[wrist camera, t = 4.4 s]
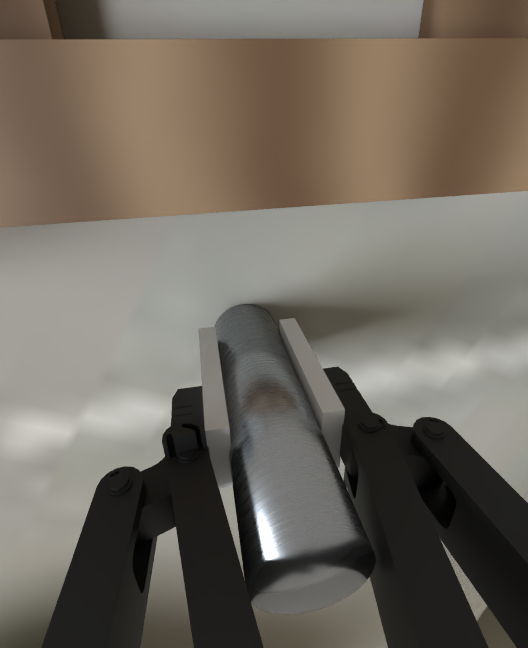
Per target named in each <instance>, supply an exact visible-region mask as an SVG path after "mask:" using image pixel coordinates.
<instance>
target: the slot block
mask: <svg viewBox="0 0 528 648" xmlns="http://www.w3.org/2000/svg"><path fill="white" fill-rule="evenodd" d="M527 35H528V0H424V3H423V10H422V18H421V25H420V32H419V38H416V39H64V37H63V33H62V29H61V24H60V20H59V16H58V11H57V7H56V3H55V0H0V227H12V226H27V225H41V224H56V223H70V222H84V221H99V220H113V219H127V218H142V217H156V216H171V215H185V214H199V213H214V212H228V211H243V210H257V209H271V208H286V207H300V206H315V205H329V204H343V203H358V202H372V201H387V200H401V199H415V198H430V197H444V196H459V195H473V194H487V193H502V192H516V191H528V38H527Z"/></svg>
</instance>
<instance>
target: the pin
mask: <svg viewBox="0 0 528 648" xmlns="http://www.w3.org/2000/svg"><path fill="white" fill-rule="evenodd" d="M215 329H216V337H217V344H218V351H219V358H220V365H221V372H222V379H223V386H224V393H225V400H226V407H227V414H228V421H229V429H230V438H231V448H230V453H229V460H230V467H231V475H232V483H233V491H234V499H235V507H236V514H237V522H238V530H239V538H240V546H241V554H242V561H243V569H244V577H245V584H246V587H247V591H248V594H249V598H250V602H251V603H252V604H253V605H254V606H256V607H257V608H259V609H261V610H263V611H266V612H270V613H275V614H298V613H305V612H310V611H314V610H317V609H321V608H324V607H327V606H329V605H331V604H334V603H336V602H338V601H340V600H342V599H344V598H345V597H347V596H349V595H350V594H352V593H353V592H355V591H356V590H357V589H358V588H360V587H361V586H362V585H363V584H364V583H365V582H366V580H367V579H368V578H369V577H370V575H371V574H372V572H373V570H374V567H375V563H376V556H375V553H374V550H373V548H372V546H371V543H370V541H369V539H368V537H367V534H366V532H365V530H364V527H363V525H362V523H361V520H360V518H359V516H358V514H357V511H356V509H355V507H354V504H353V502H352V500H351V498H350V495H349V493H348V491H347V488H346V486H345V484H344V482H343V479H342V477H341V475H340V472H339V470H338V468H337V465H336V463H335V461H334V459H333V456H332V454H331V452H330V449H329V447H328V445H327V443H326V440H325V438H324V436H323V433H322V431H321V429H320V426H319V424H318V422H317V420H316V417H315V415H314V413H313V410H312V408H311V406H310V404H309V401H308V399H307V397H306V394H305V392H304V390H303V388H302V385H301V383H300V381H299V378H298V376H297V374H296V371H295V369H294V367H293V365H292V362H291V360H290V358H289V355H288V353H287V351H286V349H285V346H284V344H283V342H282V339H281V337H280V335H279V333H278V330H277V328H276V326H275V323H274V321H273V319H272V317H271V316H270V314H269V313H268V312H267V311H266V310H264V309H263V308H261V307H258V306H255V305H248V304H245V305H238V306H235V307H232V308H230V309H228V310H227V311H225V312H224V313H223V314H222V315H221V316H220V317H219V319H218V320H217V322H216V324H215Z"/></svg>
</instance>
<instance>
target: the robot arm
mask: <svg viewBox="0 0 528 648" xmlns="http://www.w3.org/2000/svg"><path fill="white" fill-rule="evenodd" d="M279 335H280V337H281V339H282V342H283V344H284V346H285V349H286V351H287V353H288V355H289V358H290V360H291V362H292V365H293V367H294V369H295V371H296V374H297V376H298V378H299V381H300V383H301V385H302V388H303V390H304V392H305V394H306V397H307V399H308V401H309V404H310V406H311V408H312V410H313V413H314V415H315V417H316V420H317V422H318V424H319V426H320V429H321V431H322V433H323V436H324V438H325V440H326V443H327V445H328V447H329V449H330V452H331V454H332V456H333V459H334V461H335V463H336V465H337V468H338V467H339V466H340V456H341V459H342V461H343V463H344V465H345V472H344V481H343V482H344V484H345V486H346V488H347V489H348V493H349V495H350V498H351V500H352V502H353V504H354V507H355V509H356V511H357V514H358V516H359V518H360V520H361V523H362V525H363V527H364V530H365V532H366V534H367V537H368V539H369V541H370V543H371V546H372V548H373V550H374V553H375V556H376V563H375V567H374V570H373V572H372V574H371V575H370V579H371V583H372V587H373V591H374V594H375V598H376V602H377V606H378V610H379V614H380V618H381V622H382V626H383V629H384V633H385V637H386V641H387V645H388V648H488V646H487V643H486V641H485V639H484V637H483V634H482V632H481V630H480V628H479V625H478V623H477V621H476V619H475V616H474V614H473V612H472V610H471V607H470V605H469V603H468V601H467V599H466V596H465V594H464V592H463V590H462V587H461V585H460V583H459V581H458V578H457V576H456V574H455V572H454V569H453V567H452V565H451V563H450V560H449V558H448V556H447V554H446V551H445V549H444V547H443V545H442V543H441V540H442V542H443V543H444V545H445V546H446V547H447V549H448V550H449V552H450V553H451V555H452V556H453V557H454V559H455V560H456V562H457V563H458V564H459V566H460V567H461V569H462V570H463V572H464V573H465V574H466V576H467V577H468V579H469V580H470V582H471V583H472V584H473V586H474V587H475V589H476V590H477V592H478V593H479V594H480V596H481V597H482V599H483V600H484V601H485V603H486V604H487V606H488V607H489V609H490V610H491V611H492V613H493V614H494V616H495V617H496V618H497V620H498V621H499V623H500V624H501V626H502V627H503V629H504V630H505V631H506V632H507V634H508V636H509V637H510V639H511V640H512V641H513V643H514V644H515V645H516V647H517V648H528V503H527V502H526V501H525V500H524V499H523V498H522V497H521V496H520V495H519V494H518V493H517V492H516V491H515V490H514V489H513V488H512V487H511V486H510V485H509V484H508V483H507V482H506V481H505V480H504V479H503V478H502V477H501V476H500V475H499V474H498V473H497V472H496V471H495V470H494V469H493V468H492V467H491V466H490V465H489V464H488V463H487V462H486V461H485V460H484V459H483V458H482V457H481V456H480V455H479V454H478V453H477V452H476V451H475V450H474V449H473V448H472V447H471V446H470V445H469V444H468V443H467V442H466V441H465V440H464V439H463V438H462V437H461V436H460V435H459V434H458V433H457V432H456V431H455V430H454V429H453V428H452V427H451V426H450V425H449V424H447V423H446V422H444V421H442V420H440V419H437V418H432V417H423V418H420V419H418V420H416V422H415V423H414V425H413V427H404V426H395V425H390V424H388V423H387V421H386V420H385V419H384V418H383V417H381V416H380V415H378V414H375V413H372V411H371V410H370V408H369V406H368V405H367V403H366V402H365V400H364V399H363V397H362V396H361V394H360V392H359V391H358V390H357V388H356V386H355V385H354V383H353V382H352V380H351V378H350V377H349V375H348V374H347V373H346V372H345V371H343V370H342V369H341V368H339V367H332V368H325V369H322V367H321V365H320V363H319V361H318V360H317V358H316V356H315V354H314V352H313V350H312V349H311V347H310V345H309V343H308V341H307V340H306V338H305V336H304V334H303V332H302V330H301V329H300V327H299V325H298V323H297V321H296V320H295V318H290V319H281V320H279ZM199 342H200V359H201V375H202V386H198V387H191V388H184V389H178V390H177V392H176V393H175V395H174V397H173V398H172V418H171V426H170V427H169V428H168V429H167V430H166V431H165V433H164V434H163V438H162V444H163V448H164V453H165V457H164V458H163V460H161V461H160V462H159V463H158V464H156V465H154V466H152V467H150V468H148V469H146V470H143V471H141V472H140V471H139V470H138V469H136V468H134V467H121V468H117V469H115V470H113V471H111V472H109V473H107V474H106V475H105V476H104V477H103V478H102V479H101V480H100V482H99V484H98V486H97V488H96V491H95V494H94V497H93V500H92V502H91V505H90V508H89V511H88V514H87V517H86V520H85V523H84V526H83V529H82V532H81V534H80V537H79V540H78V543H77V546H76V549H75V552H74V555H73V558H72V561H71V564H70V566H69V569H68V572H67V575H66V578H65V581H64V584H63V587H62V590H61V593H60V596H59V598H58V601H57V604H56V607H55V610H54V613H53V616H52V619H51V622H50V625H49V628H48V630H47V633H46V636H45V639H44V642H43V645H42V648H140V643H141V637H142V631H143V624H144V618H145V612H146V605H147V599H148V593H149V586H150V580H151V574H152V567H153V561H154V555H155V548H156V542H157V536H158V535H160V534H162V533H164V532H166V531H168V530H170V529H172V528H174V527H176V530H177V536H178V543H179V550H180V556H181V563H182V570H183V577H184V583H185V590H186V597H187V604H188V610H189V617H190V624H191V631H192V637H193V644H194V648H263V644H262V641H261V637H260V634H259V630H258V626H257V623H256V619H255V616H254V612H253V609H252V605H251V602H250V598H249V594H248V591H247V587H246V584H245V580H244V577H243V573H242V569H241V566H240V562H239V559H238V555H237V552H236V548H235V545H234V541H233V537H232V534H231V530H230V527H229V523H228V520H227V516H226V513H225V509H224V505H223V502H222V498H221V495H220V491H219V488H224V487H230V486H233V483H232V475H231V467H230V460H229V453H230V448H231V438H230V429H229V421H228V414H227V407H226V400H225V393H224V386H223V379H222V372H221V365H220V358H219V351H218V344H217V337H216V329H215V327H210V328H202V329H199ZM439 537H440V538H439ZM440 539H441V540H440Z"/></svg>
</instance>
